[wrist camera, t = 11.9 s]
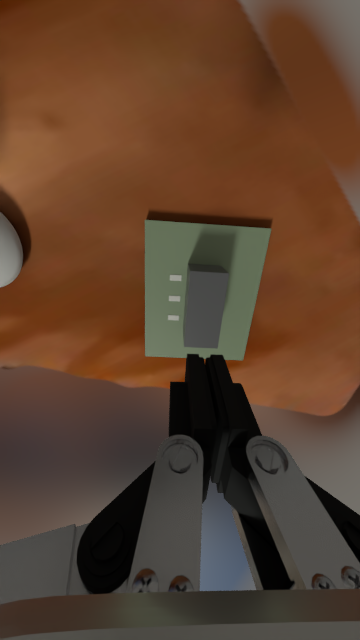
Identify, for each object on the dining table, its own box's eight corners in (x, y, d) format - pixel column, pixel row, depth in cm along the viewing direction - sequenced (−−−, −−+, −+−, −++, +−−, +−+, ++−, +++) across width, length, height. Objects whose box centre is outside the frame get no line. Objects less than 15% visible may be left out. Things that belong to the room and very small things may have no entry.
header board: (146, 219, 28) (140, 219, 23) (267, 228, 29) (286, 229, 24) (146, 352, 36) (141, 371, 31) (240, 356, 37) (250, 375, 32)
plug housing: (187, 263, 29) (190, 271, 25) (220, 265, 29) (229, 273, 25) (182, 330, 33) (183, 347, 29) (211, 331, 33) (217, 348, 29)
